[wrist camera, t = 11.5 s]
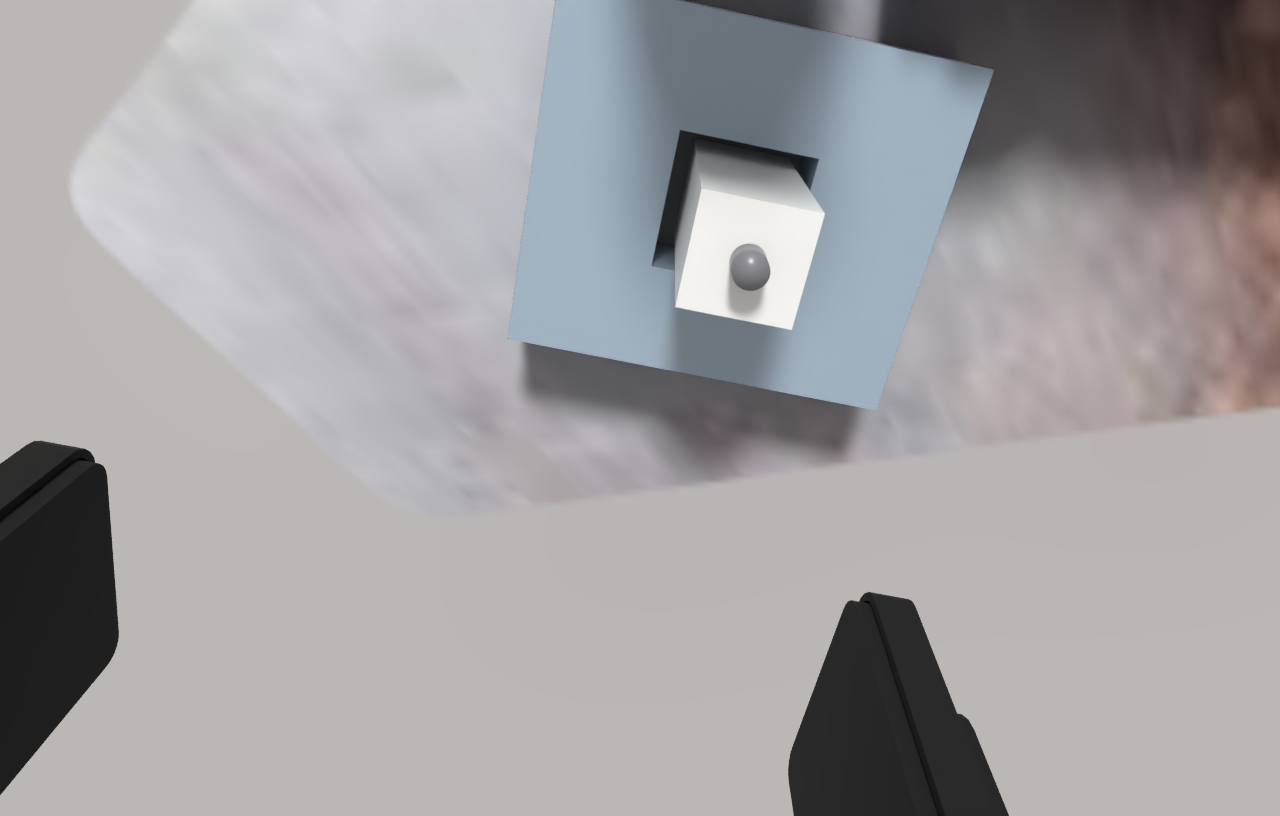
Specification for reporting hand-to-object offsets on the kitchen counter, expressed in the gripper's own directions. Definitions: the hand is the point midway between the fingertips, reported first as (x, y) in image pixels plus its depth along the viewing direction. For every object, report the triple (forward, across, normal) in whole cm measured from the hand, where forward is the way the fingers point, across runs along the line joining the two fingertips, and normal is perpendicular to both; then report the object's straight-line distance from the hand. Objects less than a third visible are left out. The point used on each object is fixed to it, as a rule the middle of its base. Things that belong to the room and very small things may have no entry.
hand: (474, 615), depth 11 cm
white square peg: (+29, -5, 0) cm, 30 cm away
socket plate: (+30, -5, 0) cm, 31 cm away
